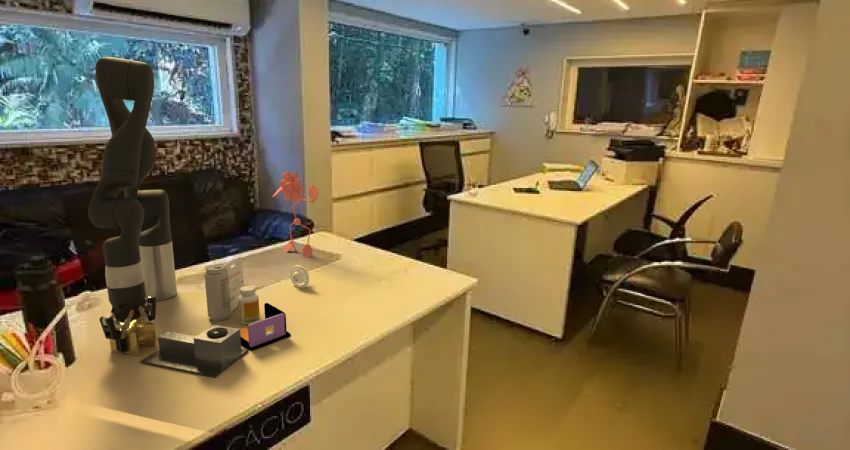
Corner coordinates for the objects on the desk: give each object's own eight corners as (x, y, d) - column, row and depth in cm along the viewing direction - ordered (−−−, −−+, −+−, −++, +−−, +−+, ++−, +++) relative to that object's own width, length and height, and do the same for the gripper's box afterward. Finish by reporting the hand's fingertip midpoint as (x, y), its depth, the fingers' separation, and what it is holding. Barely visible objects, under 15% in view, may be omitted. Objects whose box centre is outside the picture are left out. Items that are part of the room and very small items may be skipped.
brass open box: (111, 351, 111) (107, 328, 110) (130, 340, 116) (128, 318, 115) (138, 356, 109) (135, 333, 108) (157, 345, 114) (154, 323, 113)
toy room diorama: (292, 336, 122) (292, 312, 120) (250, 353, 113) (248, 327, 111) (269, 322, 129) (268, 299, 128) (227, 336, 121) (225, 312, 119)
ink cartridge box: (230, 300, 142) (227, 254, 139) (245, 301, 141) (242, 256, 138) (213, 311, 134) (209, 263, 131) (229, 313, 133) (225, 265, 130)
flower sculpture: (284, 248, 195) (281, 166, 187) (329, 260, 182) (327, 172, 173) (254, 257, 183) (249, 169, 174) (299, 271, 169) (296, 176, 161)
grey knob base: (140, 363, 106) (136, 332, 104) (179, 339, 118) (177, 311, 116) (214, 378, 102) (212, 346, 100) (248, 351, 113) (246, 323, 111)
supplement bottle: (263, 318, 131) (262, 286, 129) (251, 326, 126) (249, 293, 124) (248, 314, 133) (246, 283, 130) (235, 322, 128) (232, 289, 125)
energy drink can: (214, 312, 134) (210, 263, 130) (234, 313, 133) (231, 264, 130) (204, 321, 128) (199, 270, 124) (225, 322, 128) (221, 271, 124)
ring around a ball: (286, 287, 154) (286, 264, 152) (298, 282, 159) (298, 260, 157) (305, 292, 150) (304, 269, 148) (316, 287, 155) (316, 264, 153)
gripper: (138, 269, 116) (145, 330, 120) (84, 289, 103) (94, 357, 107) (162, 272, 114) (169, 334, 118) (111, 294, 101) (121, 362, 105)
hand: (134, 345), depth 112 cm, fingers closed on brass open box, 5 cm apart
